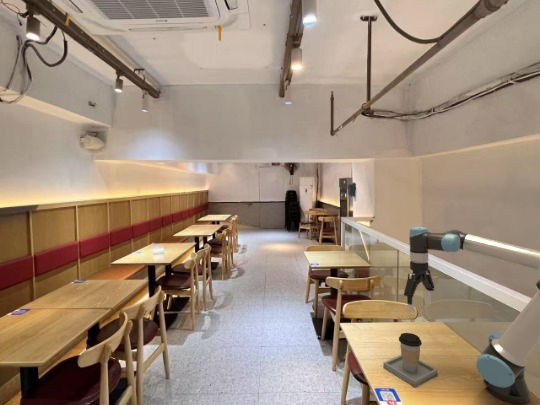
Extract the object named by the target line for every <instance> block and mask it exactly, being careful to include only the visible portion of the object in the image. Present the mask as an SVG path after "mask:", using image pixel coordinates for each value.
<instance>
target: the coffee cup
mask: <svg viewBox="0 0 540 405" xmlns="http://www.w3.org/2000/svg"><path fill="white" fill-rule="evenodd" d="M398 341H399V342H400V353H401V354H400V355H402V361H403V369H404V370H405V371H407V372H409V373H416V372H417V369H418V362H419V360H420V355H421V346H422V344H423V343H422V339H420V336H418V335H416V334H414V333H412V332H404V333H401V334H400V335H399V337H398Z"/></svg>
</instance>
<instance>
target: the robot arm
mask: <svg viewBox="0 0 540 405" xmlns="http://www.w3.org/2000/svg"><path fill="white" fill-rule="evenodd" d="M408 239H409V260H410V262H409V269H410V270H411V271H412V272H411V273H408V274H407V280H406V284H405V288H404V292H403V296H404V297H407V298H406V299H407V311H408V312H412V313H415V296H414V295H415V293H416V290H417V287H418V286H419V285H420V283H421V284H422V285H423V286H424V288H425V289H424V304H425V305H429V306H432V292H434V291H435V284H434V281H433V277H432V275H431V270H430V268H429V251H430V250H431V251H441V252H446V253H458V252H459V250H463V251H466V252H469V253H474V254H477V255H478V256H479V255H480V256H484V257H487V258H491V259H494V260H497V261H501V262H504V263H508V264H512V265H516V266H519V267H523V268H527V269H530V270H533V271H536V272H538V274H540V250H537V249H532V248H528V247H524V246H521V245H520V246H519V245H516V244H512V243H508V242H507V243H506V242H503V241H500V240H496V239H495V240H494V239H491V238H487V237H482V236H478V235H474V234H472V233H471V234H470V233H466V232H464V231H462V230H460V229H450V230H448V231H445V232H430V231H429V230H428V228H427V227H424V226H423V227H422V226H414V227H413V226H412V227H411V228H409V237H408ZM535 288H536V292H535V294H534V296H532V298H530V300H529V302H528V303H527V304H526V305H525V307H524V308H523V309H522V310H521V311H520V312H519V314H518V315H517V316H516V318H515V319H514V321H512V323H511V324H510V325H509V326H508V328H507V329H506V330H505V332H504V333H501V332H490V333H489V335H488V338H487V339H488V345H487V346H486V347H485V348H484V350H482V352H481V353H480V355H478V356H477V359H476V362H475V363H476V364H475V365H476V368H477V371H478V373H479V375H480V376H481V377H482V381H483V384H484V386H485V388H484V389H485V390H486V391H487V392H488V393H489V394H491V395H492V396H494V397H496V398H498V399H499V400H503V401H504V402H508V403H513V404H526V403H528V402H530V400H531V397H530V396H531V394H530V390H529V387H528V385H527V384H528V383H527V382H526V378H525V369H526V367H527V366H528V365H529V364H528V360H527V357H528V355H530V353H531V352H532V351H533V350H534V348H535V347H536V346H537V345H538V344H539V343H540V279H538V280H537V282H536V283H535Z"/></svg>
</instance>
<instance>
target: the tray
mask: <svg viewBox="0 0 540 405" xmlns="http://www.w3.org/2000/svg"><path fill="white" fill-rule="evenodd" d="M382 364H383V365H382V366H383V369H385V370H386V371H387V372H389V373H391V374H393V375H394V376H396V377H397V378H399V379H401V380H402V381H404V382H406V383H407V384H409V385H410V386H412V387H414V388H417V387H419V386H420V385H421V386H422V384H425V383H426V382H429V381H430V380H432V379H433V378H436V377H437V376H439V371H438V368H435V367H433V366H431V365H430V364H429V363H426V362H424V361H422V360H420V359H419V362H418V369H417V372H416V373H409V372H407V371H405V370H404V369H403V361H402V355H401V354H400V355H398V356H395V357H393V358H391V359H389V360H387V361H383V363H382Z"/></svg>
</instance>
